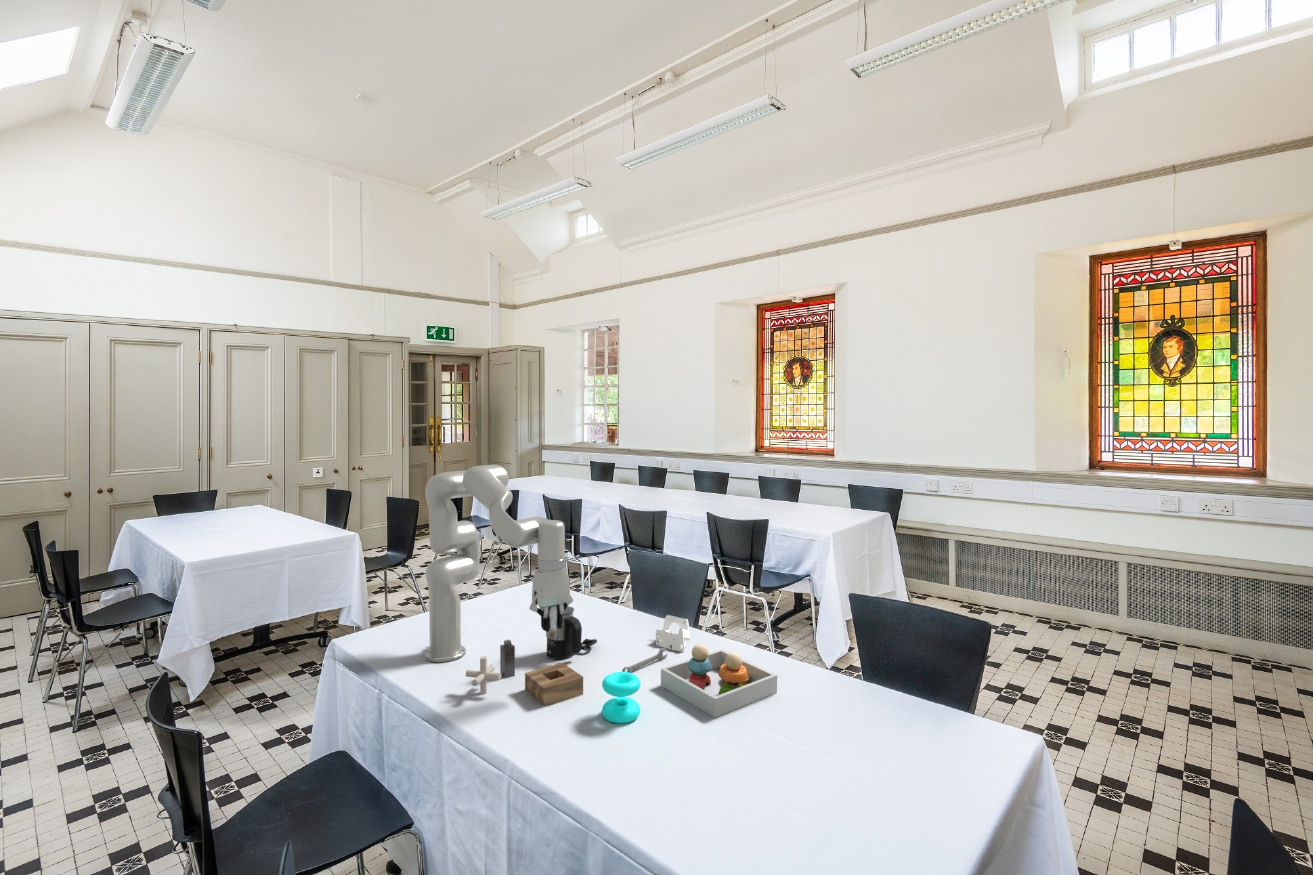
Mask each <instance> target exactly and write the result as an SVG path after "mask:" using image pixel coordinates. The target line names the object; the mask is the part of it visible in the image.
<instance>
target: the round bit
mask: <svg viewBox="0 0 1313 875" xmlns="http://www.w3.org/2000/svg"><path fill="white" fill-rule="evenodd" d="M548 617H549V632H546V631H545V637H546V639H547V638H555V637H557V636H558V614H557V605H553V606H549V607H548Z"/></svg>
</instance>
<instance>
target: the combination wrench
mask: <svg viewBox="0 0 1313 875" xmlns="http://www.w3.org/2000/svg"><path fill="white" fill-rule="evenodd" d="M666 650H667V648H664V647H661V648H660V649H659V650H658V652H657V654H656V655H653V656H650V657H649V658H645V659H643V660H641V661H639V662H637V663H634V664H632V665H629V666H624V667H623V668H622V671H621V672H629V673H632V672H634V671H636V670H637V669H640V668H642V667H644V666H647V665H648V664H649V665H650V663H653V662H655V661H657V660H660V661H664V660H666V659H667V656H668V653H665V654H664V652H665V651H666Z"/></svg>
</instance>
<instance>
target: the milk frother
mask: <svg viewBox="0 0 1313 875" xmlns="http://www.w3.org/2000/svg"><path fill="white" fill-rule="evenodd" d="M574 611H575V608H574V607H572V606H570V605H568V606H567V608H566V609H565V610H564V614H562V628H561V629H559V628H558V636H557V637H555V638H547V637H546V653H545V655H546V657H547V658H548V659H551V660H564V659H570V658H571V657H573V656H574V655H576V654H579V653H580V652H581V650H584V649H586V648H589V647H592V646H593V645H595V644H596V643H598V639H595V638H593V639H591V638H589V639H588V638H585V639H584V640H582V635H583V633H582V632H583V627H582V624H581V622H580V619H578V618H577V617H575V616H574Z"/></svg>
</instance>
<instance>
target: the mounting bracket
mask: <svg viewBox="0 0 1313 875" xmlns="http://www.w3.org/2000/svg"><path fill="white" fill-rule="evenodd" d="M673 624H677V625H678V626H679V629H678V633H677V634H676V633H674V632H672V631H671V630H670V627H671V626H672V625H673ZM690 639H691V634H690V624H689V620H688V619H687V618H684V617H679V616H673V615H671V614H667V615H666V616H665V617H664V623H663V627H662V630H661V629H656V630H655V644H656V646H657V647H661V648H666V649H668V650H671V651H676V652H680V653H683V652H684V651H685V650H686V643H685V641H689V640H690Z"/></svg>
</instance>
